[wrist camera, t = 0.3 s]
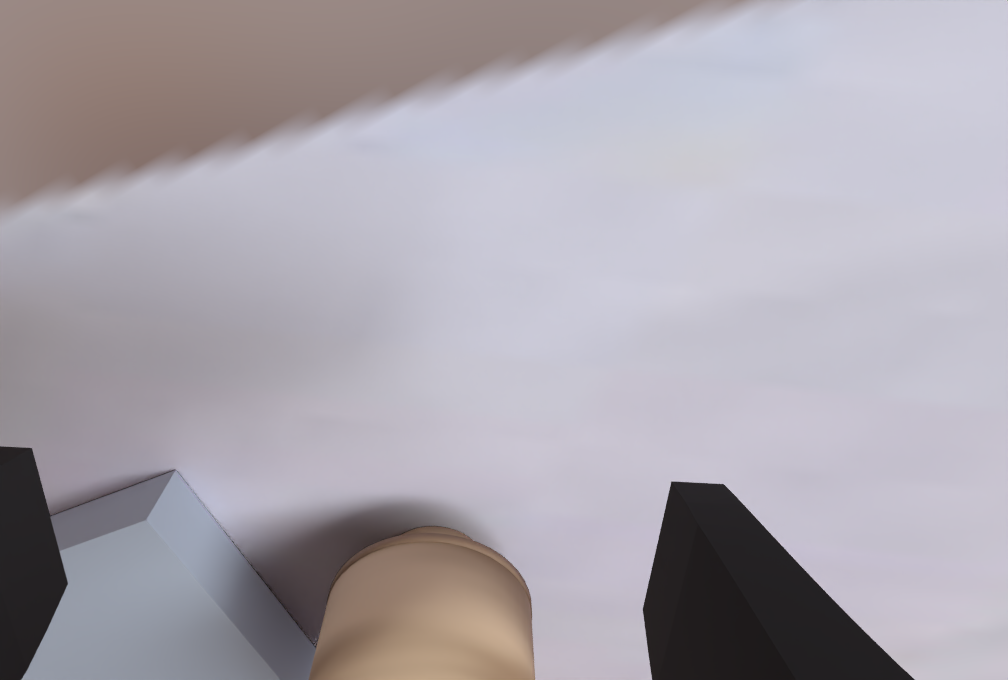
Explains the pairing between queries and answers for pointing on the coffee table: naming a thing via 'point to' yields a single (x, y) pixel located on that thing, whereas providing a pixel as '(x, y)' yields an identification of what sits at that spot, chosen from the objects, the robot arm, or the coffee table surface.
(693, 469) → the coffee table surface
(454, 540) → the oak peg
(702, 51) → the coffee table surface
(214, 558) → the mortise board
